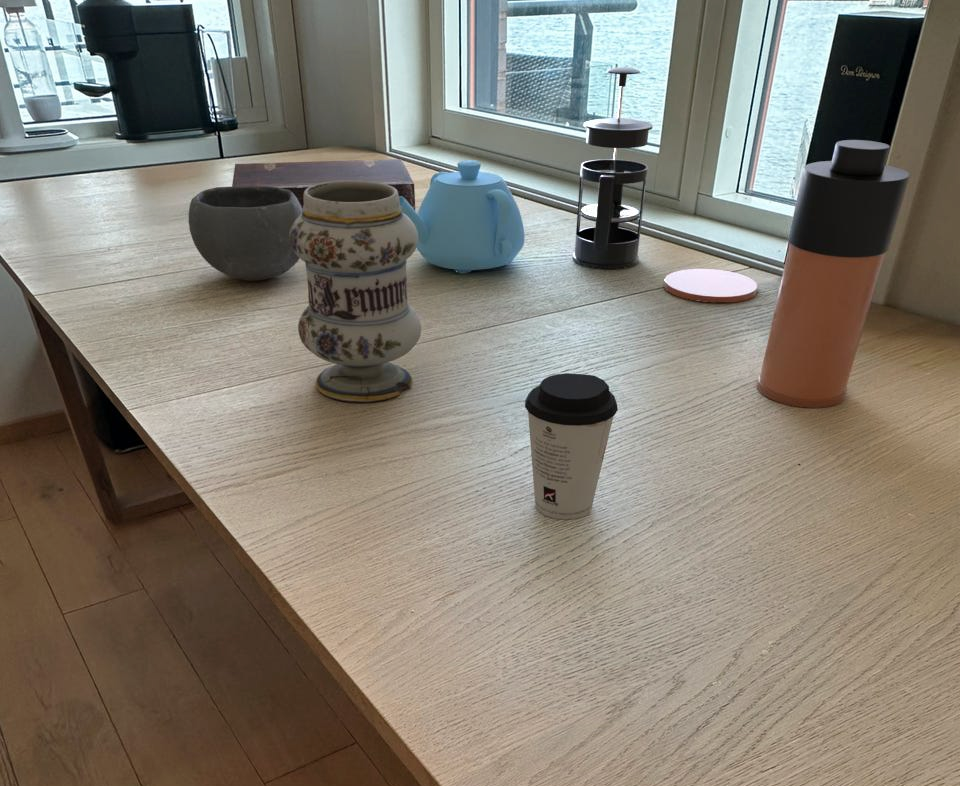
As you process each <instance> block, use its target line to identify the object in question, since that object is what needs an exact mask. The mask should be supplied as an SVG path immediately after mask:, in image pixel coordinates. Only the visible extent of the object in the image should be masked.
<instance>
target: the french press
mask: <svg viewBox="0 0 960 786" xmlns="http://www.w3.org/2000/svg"><path fill="white" fill-rule="evenodd" d="M606 73H607V74H610V75H611V74H612V75H618V86H617V87H619V97H618V107H617V108H618V110H617V117H605V118H598V119H597V118H596V119H590V120H587V121H585V122H584V123H583V127H584V128H585V129H586V135H585V138H586V139H585V142H586V144H588V145H590V146H593V147H598V148H608V149H614V152H613V159H612V158H609V159H608V158H607V159H592V160H588V161H587V160H586V161H584V162H582V163H581V164H580V173H579V174H580V175H579V188H578V202H577V215H576V229H575V242H574V252H573V254H572V260H573V261H574V263H576V262H577V263H576V264H578V263H579V264H578V265H580V264H581V265H580V266H583V265H585V266H584V267H586V266H588V267H587V268H591V267H594V268H593V269H597V268H601V269H600V270H616V269H615V268H622V269H625V268H624V267H628V268H631V267H630V266H632V267H634V266H636V265H637V264H638V263H639V260H640V257H639V255H638V254H639V248H640V247H639V246H640V239H641V231H642V229H641V228H642V220H643V214H644V213H643V212H644V204H645V197H646V196H645V195H646V186H647V180H648V179H647V177H648V169H649V166H648V165H647V164H645V163H642V162H638V161H634V160H627V159H618V158H617V157H618V149H635V148H636V149H637V148H643V147H645V146H647V145H648V139H649V131H651V130H653V127H654V125H653V124H652V123H651V122H648V121H643V120H637V119H632V118H625V117H621V115H622V105H623V95H624V88H625V87H626V85H627V77H628V75H638V74H640V73H641V72H640V70H639V69H636V68H634V67H625V66H624V67H622V66H620V67H619V66H618V67H612V68H608V69H607V70H606ZM609 171H610V172H609ZM584 181H588V182H592V183H597V184H598V193H597V203H596V204H589V205H585V206H582V204H583V193H584V192H583V189H584ZM641 182H643V183H642V190H641V200H640V209H638V208H636V207H633V206H631V205H625V204H622V200H623V190H624V185H628V184H636V183H637V184H638V183H641ZM581 218H583V219H585V220H587V221H591V222H595V226H592V227H585V228H582V229H581ZM636 220H638V225H637V226H638V227H637V231H634V230H631V229H629V228H623V227H620V224H622V223H623V224H624V223H630V222H634V221H636ZM635 264H636V265H635ZM633 265H634V266H633Z"/></svg>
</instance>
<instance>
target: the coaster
mask: <svg viewBox="0 0 960 786" xmlns="http://www.w3.org/2000/svg"><path fill="white" fill-rule="evenodd" d="M663 287H664V290H665V291H667V292H668V293H669V292H670V294H671V293H672V294H671V295H673V294H674V295H673V296H675V295H676V297H678V296H679V297H678V298H681V297H682V298H681V299H684V298H686V299H685V300H688V299H692V300H691V301H693V300H700V301H707V302H725V303H724V304H731V303H732V302H733V303H739V302H745V301H748V300H750V299H752V298H754V297H755V296H756V295H757V293H758V292H757V291H758V288H759V286H758V283H757V282H756V281H755V280H754V279H753V278H751V277H749V276H747V275H744V274H741V273H738V272H737V273H736V272H733V271H728V270H724V269H715V268H689V269H687V268H686V269H680V270H676V271H674V272H673V271H672V272H671V273H669V274H667V275H666V276H665V277H664V281H663ZM707 302H706V303H707ZM726 302H727V303H726ZM729 302H730V303H729Z"/></svg>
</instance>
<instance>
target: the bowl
mask: <svg viewBox="0 0 960 786" xmlns="http://www.w3.org/2000/svg"><path fill="white" fill-rule="evenodd" d="M301 214H302V207H301V205H300V203H299V201H298V200H297V198H296V196H295V195H294V194H293V193H292V192H291V191H290V190H287V189H282V188H278V187H270V186H232V185H231V186H217V187H212V188H208V189H204V190H202V191H200V192H199V193H197V194H196V195H194V196H193V198H191V200H190V203H189V209H188V228H189V233H190V236H191V238H192V241H193V244H194V247H195V248H196V250H197V251H198V253H199V254H200V256H201V257H202V258H203V259H204V260H205V262H206V263H208V265H210V266H211V267H212V268H214V269H215V270H216V271H218V272H219V273H222V274H224V275H226V276H228V277H230V278H232V279H233V278H234V279H237V280H242V281H251V282H252V281H254V282H256V281H265V280H270V279H272V278H275V277H278V276H281V275H283V274H284V273H286V272H288V271H289V270H291V269H292V268H293V267H294V266H295V265H296V264H297V263H299V261H300V260H301V259H300V258H299V257H298V256H297V255H296V254H295V253H294V251H293V250H292V248H291V245H290V241H289V233H290V229H291V227H292V225H293V223H294V222H295V220H296V219H297V218H298V217H299V216H300V215H301Z"/></svg>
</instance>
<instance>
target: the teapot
mask: <svg viewBox="0 0 960 786" xmlns="http://www.w3.org/2000/svg"><path fill="white" fill-rule="evenodd" d="M456 164H457V169H458V171H453V172H446V171H438V172H435V173H434V174H433V175H432V176H431V178H430V180H429V181H430V183H429V188H428V189H427V192H426V193H425V196H424V197H423V199H422V201H421V203H420V206H419V209H418V211H416V209H415V210H414V209H413V208H412V206H411V205H410V204H409V203H408V202H407V201H406V199H405V198H404V197H403V196H399V202H400V203H399V204H400V206H401V211H402V212H403V213H404V214H405V215H407V216H408V217H409V218H410V219H411V221H412V222H413V224H414V225H415V227H416V230H417V233H418V244H417V247H416V249H417V251H418V252H419V254H420V255H421V256H422V258H424V259H425V260H426V262H428V263H430V264H431V265H433V266H436V267H440V268H445V269H451V270H454V272H455V271H457V272H459V273H458V274H467V273H466V272H470V273H472V272H473V271H479V270H488V269H496V268H499V267H504V266H503V265H505V266H507V265H508V264H510V263H511V262H512V261H514V259H516V257H517V255H518V254H519V253H520V252H521V251H522V249H523V247H524V245H525V228H524V222H523V217H522V214H521V212H520V211H521V210H520V208H519V206H518V204H517V202H516V200H515V197H514V195H513V194H512V192H511V190H510V188H509V186H508V184H507V182H506V181H505V180H504V179H503V178H502V176H500V175H498V174H495V173H491V172H485V171H480V169H481V165H482V163H481V162H479V161H477V160H460V161H459V162H457V163H456ZM471 271H472V272H471ZM457 272H456V273H457Z"/></svg>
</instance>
